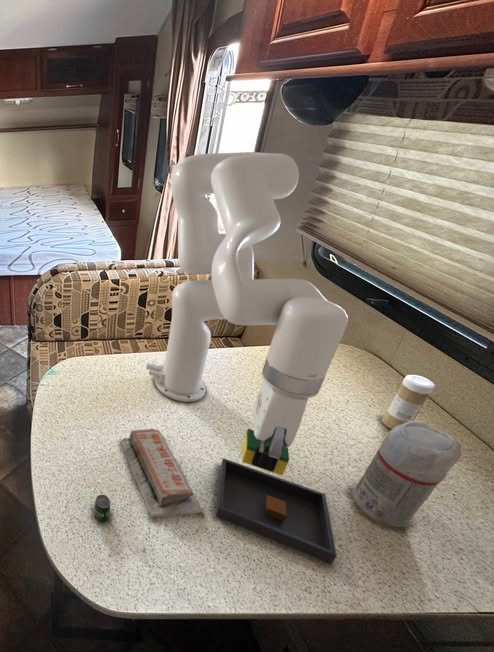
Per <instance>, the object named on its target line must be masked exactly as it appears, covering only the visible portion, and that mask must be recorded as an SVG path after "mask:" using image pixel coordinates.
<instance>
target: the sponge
mask: <svg viewBox="0 0 494 652" xmlns="http://www.w3.org/2000/svg"><path fill="white" fill-rule="evenodd" d="M260 443H261V440H258V439H257V438H256V437H255V435H254V429H251V428H247V430H246V433H245V435H244V439H243V441H242V455H241V456H242V458H241V459H242V460H241V462H242V463H243V464H246V465H247V464H248V465H250V466H253V467H255V466H254V465H252V459H253V456H254V454H255V451H256V448H257V447H259V446H260ZM265 446H268V447H270V446H271V442H269V441H266V445H265ZM289 453H290V452H289V447H288V448H285V447H284V444H283V447H282V450H281V454H280V458H279V459H278V461H277V464H276V466H275V469H274V471H268V470H265V469H263V470H265V471H267V472H270V473H273V474H277V475H279V476H284V473H285V471H286V468H287V466H288V463H289V461H290V454H289Z"/></svg>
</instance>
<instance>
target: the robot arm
mask: <svg viewBox="0 0 494 652" xmlns="http://www.w3.org/2000/svg"><path fill="white" fill-rule="evenodd" d="M299 179H300V171H299V168H298V165H297V163H296V161H295V160H294V159H293V157H291V156H289V155H288V154H286V153H273V152H271V153H270V152H258V151H257V152H256V151H245V152H243V151H242V152H216V153H212V152H211V153H199V154H193V155H190V156H185V157H184V158H182V159H180V160H179V161H178V162H177V164H176V165H175V166H174V169H173V171H172V173H171V181H170V182H171V183H170V184H171V185H170V188H171V196H172V200H173V203H174V207H175V211H176V215H177V222H178V223H177V257H178V265H179V268H180V270H181V272H183V273H185V274H188V275H211V276H210V277H211V279H193V280H187V281H182V282H180V283H179V284H177V285H175V287H174V288H173V290H172V293H171V322H170V329H169V335H168V340H167V347H166V352H165V358H164V362H163V364H155V363H151V362H147V363H146V367H145V369H146V370H149V371H148V375H149V376H153V377H155V379H154V384H155V387H157V390H159V391H160V392H161V393H162V394H163V395H164V396H166V397H168V398H170V399H172V400H175V401H178V402H184V403H189V402H197V401H199V400H201V399H202V398H203V397H204V396H205V392H206V385H205V383H204V381H203V380H202V378H203V374H204V370H205V365H206V361H207V357H208V353H209V349H210V344H211V341H212V334H211V330H210V328H209V327H208V325H207V324H206V323H205V322H207V321H212V320H226V321H227V322H229V323H230V324H233V325H236V326H273V325H274V326H276V327H275V330H274V333H273V336H272V339H271V342H270V345H269V349H268V351H267V355H266V358H265V361H264V364H263V368H262V370H261V374H260V375H261V378H262V382H261V385H260V387H259V391H258V392H257V395H256V398H255V400H254V404H253V430H254V435H255V437H256V438H257V439H258V440H261V443H260V446H259V447H257V448H256V451H255V454H254V456H253V459H252V465H251V466H253V465H254V466H253V467H256V468H259V469H261V470H264V469H265V471H267V470H268V471H267V472H270V471H274V469H275V466H276V464H277V461H278V459H279V458H280V454H281V450H282V447H283V444H284V447H285V448H288V449H289V448H290V447H291V446H292V444H293V443H294V440H295V439H296V436H297V433H298V431H299V428H300V426H301V422H302V419H303V417H304V414H305V411H306V407H307V404H308V401H309V399H310V398H314V397H316V396H317V395H318V394H319V392H320V390H321V388H322V386H323V383H324V380H325V379H326V376H327V374H328V372H329V369H330V366H331V364H332V361H333V359H334V357H335V354H336V352H337V349H338V347H339V345H340V343H341V340H342V338H343V335H344V333H345V332H346V329H347V326H348V322H349V316H348V314H347V312H346V310H345V309H344V308H343V307H341V306H340V305H338V304H337V303H334V302H331V301H329V300H327V299H326V297H324V296H323V294H322V293H321V292H320V290H319V289H318V288H317V287H316V286H315V285H314V284H312V283H311V282H310V281H308V280H305V279H303V278H257V279H256V278H255V277H254V275H255V274H254V273H255V253H254V249H253V245H255V244H258V243H261V242H262V241H264V240H266V239H267V238H269V237H270V236H272V235H273V234H275V233H276V232H277V231H278V230H279V228H280V225H281V223H282V222H281V220H282V219H281V215H280V213H279V211H278V207H277V205H276V204H275V201H274V200H281V199H284V198H286V197H288V196H290V195H291V194H292V193H293V192H294V191H295V190H296V188H297V185H298V183H299ZM207 194H209V195H210V194H213V195H214V198H215V201H216V202H215V203H216V206H217V208H218V211H217V209H216V208H215V206H214V204H213V203H212V202H211V201H210V200H209V198H207V197H206V196H205V195H207ZM218 213H219V215H220V218H221V222H222V225H223V228H224V231H225V233H220V232H219V215H218ZM266 441H269V442H271V446H270V447H268V446H265V445H266Z"/></svg>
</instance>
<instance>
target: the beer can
mask: <svg viewBox="0 0 494 652" xmlns="http://www.w3.org/2000/svg"><path fill="white" fill-rule="evenodd" d="M110 513H111V499H110V498H109V497H108V496H107V495H105V494H99V495H97V496H96V497H95V501H94V510H93V515H94V518H95V519H96V520H97V521H98V522H100V523H106V522H107V521H109V518H110Z"/></svg>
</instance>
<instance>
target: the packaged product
mask: <svg viewBox="0 0 494 652" xmlns="http://www.w3.org/2000/svg"><path fill="white" fill-rule="evenodd" d="M121 445H122V447H123V449H124V452H125V455H126V458H127V461H128V464H129V466H130V469H131V473H132V476H133V478H134V480H135V482H136V485H137V487H138V489H139V492H140V495H141V496H142V499H143V501H144V503H145V505H146V509H147V510H148V513H149V515H150V517H151V518H163V517H165V518H166V517H175V516H177V517H178V516H187V515H196V514H202V512H203V511H204V510H203V508H202V507H201V504H200V503H199V501H198V498H197V497H196V495H195V493H194V492H193V489H192V488H191V485H190V484H189V483H188V480H187V478H186V476H185V474H184V473H183V471H182V469H181V467H180V466H179V464H178V462H177V460H176V458H175V456H174V455H173V452H172V451H171V449H170V447H169V445H168V443H167V441H166V439H165V438H164V435H163V434H162V432H160V431H159V429H155V428H150V429H149V428H147V429H136V430H135V429H134V430H133V429H132V430H131V431H130V433H129V437H128V438H127V437H124V438H123V439H122V440H121Z"/></svg>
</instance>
